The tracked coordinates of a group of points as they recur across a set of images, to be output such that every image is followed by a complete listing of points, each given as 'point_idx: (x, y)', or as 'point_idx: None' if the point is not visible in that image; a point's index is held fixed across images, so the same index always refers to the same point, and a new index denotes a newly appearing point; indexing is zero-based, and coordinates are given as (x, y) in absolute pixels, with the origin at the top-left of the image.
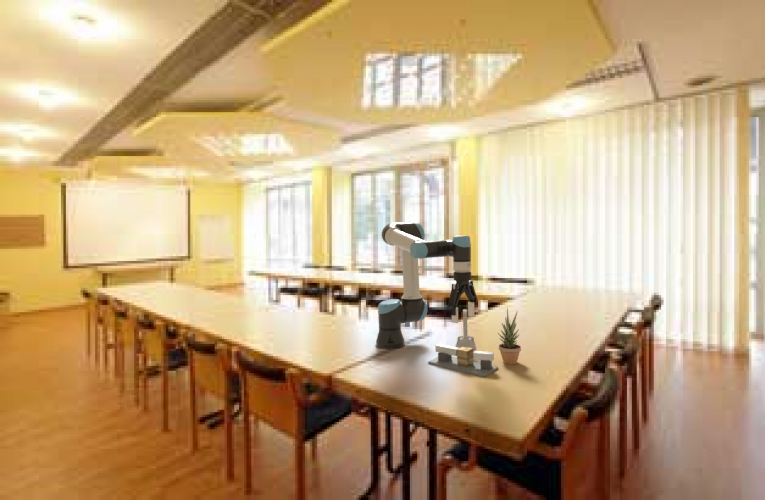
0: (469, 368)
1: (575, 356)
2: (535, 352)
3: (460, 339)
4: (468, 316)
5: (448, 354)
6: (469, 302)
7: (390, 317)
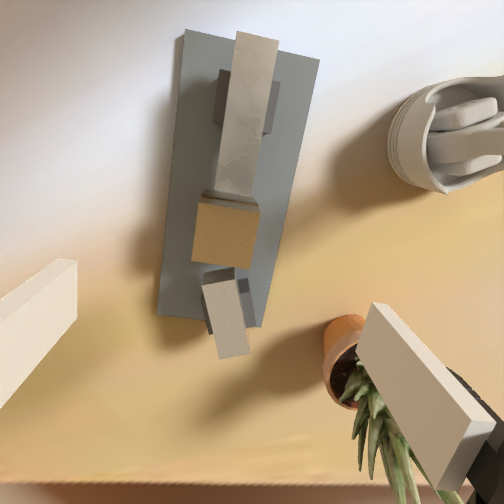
0: (189, 248)
1: None
2: (478, 374)
3: (457, 115)
4: (371, 304)
5: None
6: (460, 438)
7: None
